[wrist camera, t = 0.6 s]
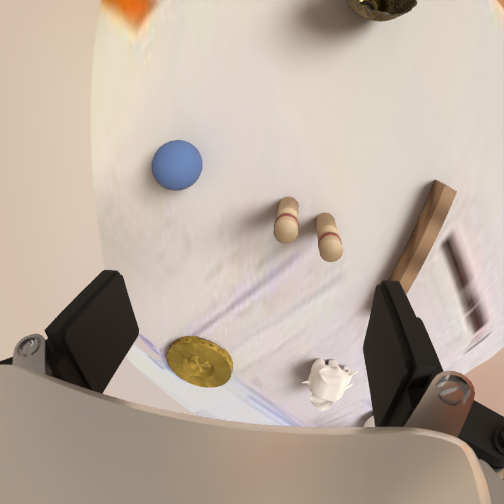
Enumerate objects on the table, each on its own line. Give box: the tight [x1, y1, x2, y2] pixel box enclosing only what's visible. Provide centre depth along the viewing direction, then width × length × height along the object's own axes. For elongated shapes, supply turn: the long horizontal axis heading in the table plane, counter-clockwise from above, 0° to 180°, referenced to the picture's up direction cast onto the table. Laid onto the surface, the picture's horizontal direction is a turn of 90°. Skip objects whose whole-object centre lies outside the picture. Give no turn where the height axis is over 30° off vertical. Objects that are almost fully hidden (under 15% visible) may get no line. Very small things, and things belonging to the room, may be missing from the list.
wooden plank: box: [389, 180, 457, 294], centre depth 35 cm, size 20×2×3 cm, turn 165°
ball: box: [152, 140, 202, 190], centre depth 33 cm, size 6×6×6 cm
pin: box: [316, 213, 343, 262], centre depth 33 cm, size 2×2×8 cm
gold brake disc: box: [167, 336, 233, 387], centre depth 51 cm, size 12×12×2 cm
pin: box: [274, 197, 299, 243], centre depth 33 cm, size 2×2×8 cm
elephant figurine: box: [302, 358, 359, 410], centre depth 45 cm, size 8×10×7 cm
